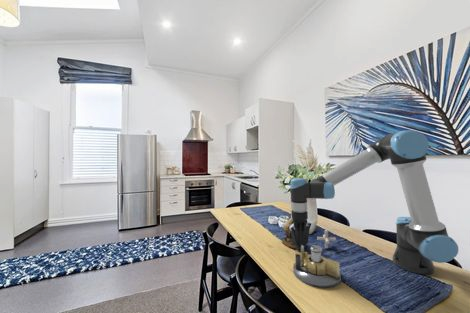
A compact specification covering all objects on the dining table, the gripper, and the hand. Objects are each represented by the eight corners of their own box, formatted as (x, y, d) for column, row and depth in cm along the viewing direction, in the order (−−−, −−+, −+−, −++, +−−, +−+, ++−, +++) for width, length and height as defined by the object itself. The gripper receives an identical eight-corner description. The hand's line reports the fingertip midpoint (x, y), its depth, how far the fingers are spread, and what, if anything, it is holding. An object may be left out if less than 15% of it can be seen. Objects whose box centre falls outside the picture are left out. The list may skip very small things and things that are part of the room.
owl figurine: (313, 248, 119) (313, 219, 119) (298, 253, 113) (298, 222, 113) (291, 237, 135) (290, 211, 135) (277, 241, 129) (276, 214, 129)
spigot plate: (349, 275, 91) (349, 248, 91) (325, 294, 79) (325, 263, 79) (309, 258, 107) (308, 235, 107) (284, 272, 95) (284, 246, 95)
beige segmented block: (342, 271, 90) (342, 259, 90) (334, 281, 83) (334, 268, 83) (301, 257, 103) (301, 246, 103) (291, 265, 96) (291, 253, 96)
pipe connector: (338, 252, 114) (338, 234, 114) (319, 250, 116) (318, 233, 116) (333, 244, 123) (333, 228, 123) (315, 243, 125) (315, 227, 125)
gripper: (303, 206, 106) (305, 252, 106) (283, 210, 100) (285, 259, 100) (315, 210, 99) (316, 258, 99) (294, 214, 93) (296, 266, 93)
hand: (301, 258), depth 100 cm, fingers closed
